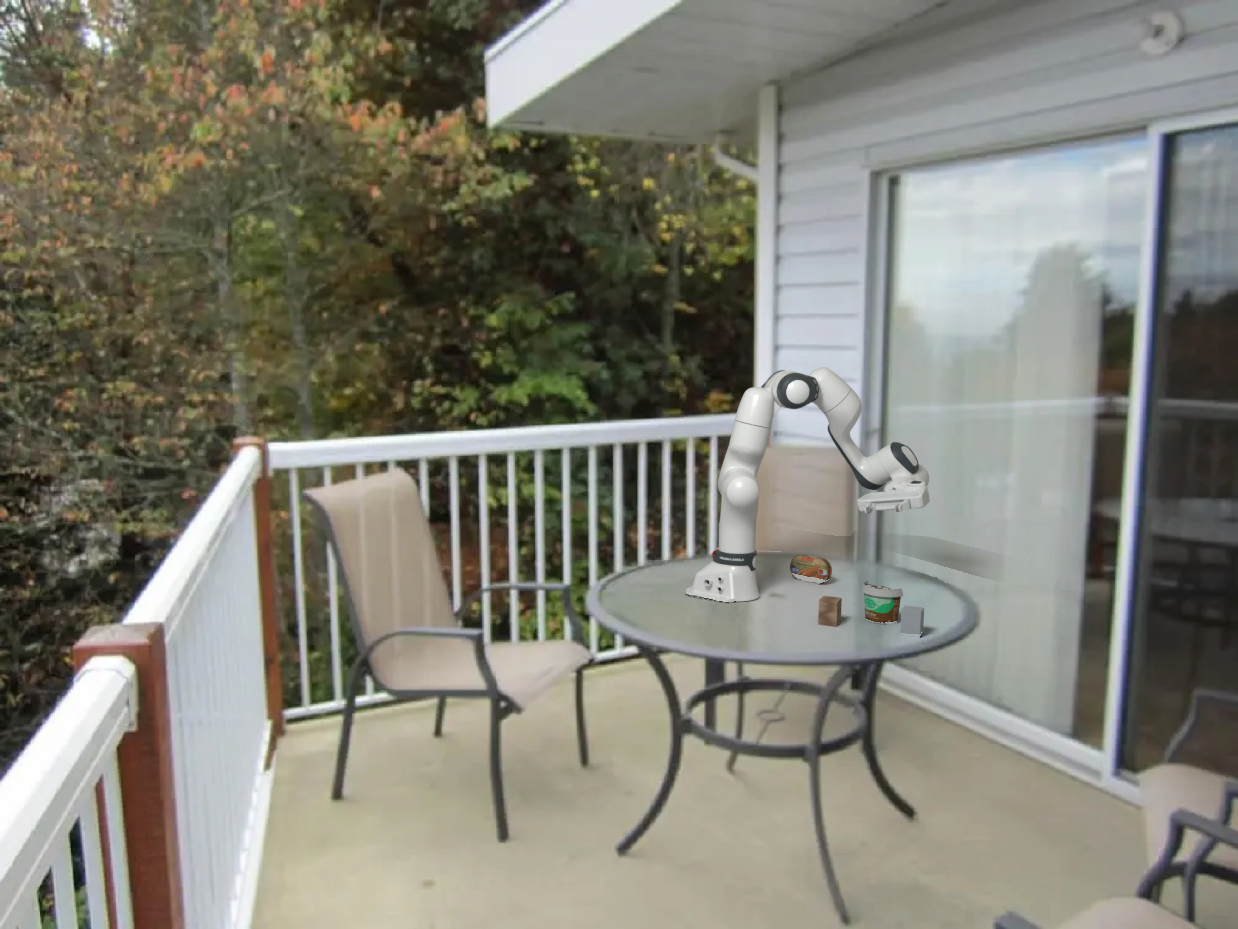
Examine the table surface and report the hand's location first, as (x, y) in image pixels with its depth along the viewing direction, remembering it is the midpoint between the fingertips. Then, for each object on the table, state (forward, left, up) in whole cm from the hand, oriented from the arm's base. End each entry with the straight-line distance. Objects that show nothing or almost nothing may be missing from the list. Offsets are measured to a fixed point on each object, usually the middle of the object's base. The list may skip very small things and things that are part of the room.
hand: (882, 510), depth 281 cm
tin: (-27, +24, -29) cm, 47 cm away
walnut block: (-9, -21, -29) cm, 37 cm away
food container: (+2, -13, -29) cm, 32 cm away
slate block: (+13, -21, -29) cm, 38 cm away
